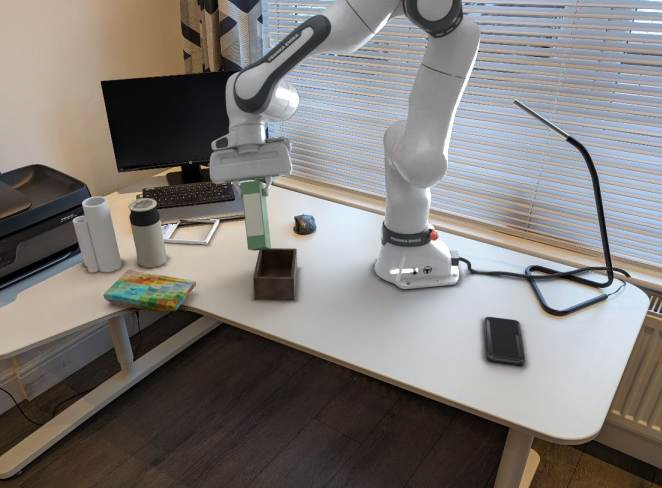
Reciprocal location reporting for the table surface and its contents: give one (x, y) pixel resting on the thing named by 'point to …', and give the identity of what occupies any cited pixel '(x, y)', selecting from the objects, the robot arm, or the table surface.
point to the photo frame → (168, 231)
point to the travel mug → (147, 232)
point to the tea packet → (255, 216)
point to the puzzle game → (149, 291)
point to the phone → (503, 341)
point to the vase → (97, 236)
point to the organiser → (275, 274)
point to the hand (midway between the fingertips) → (254, 197)
